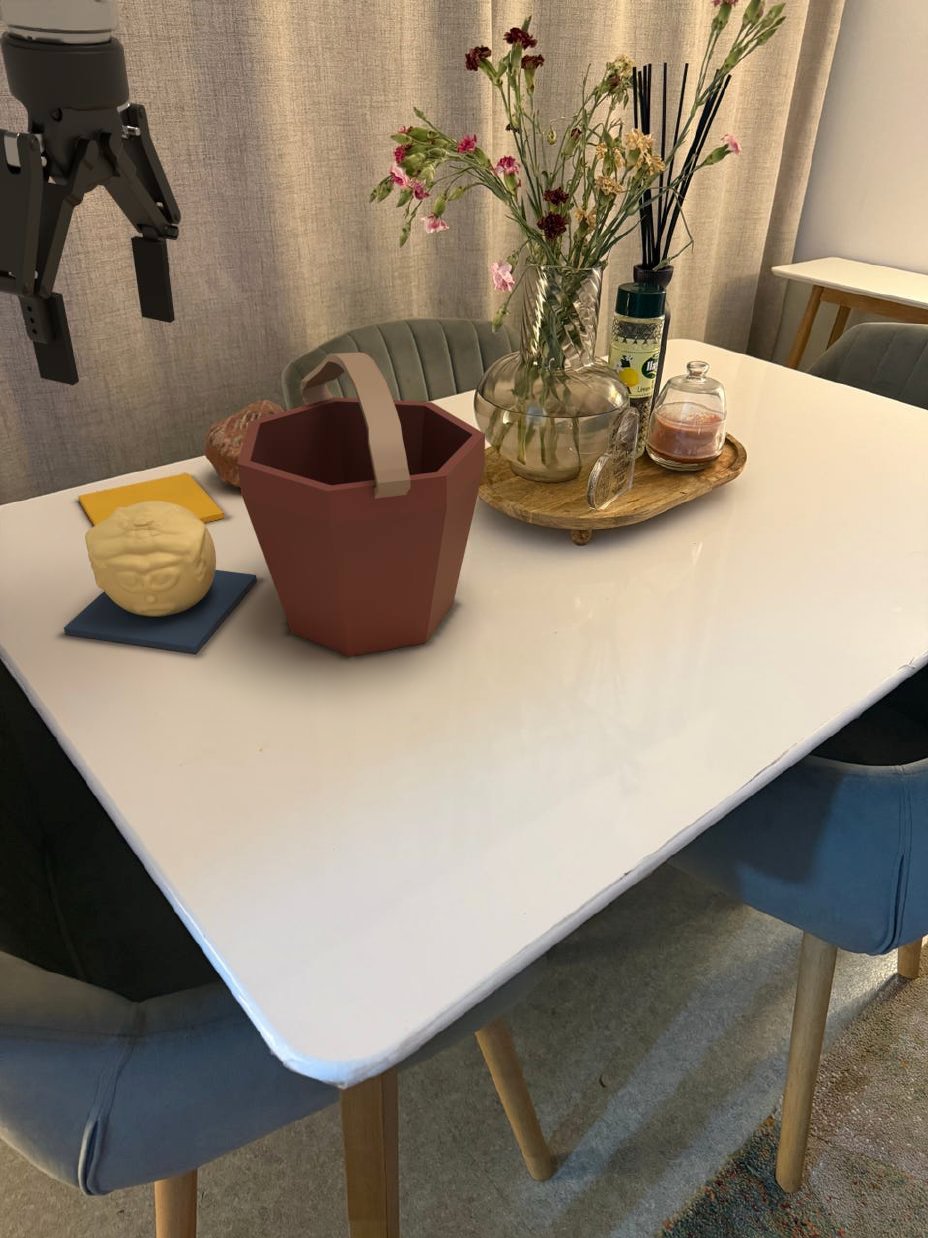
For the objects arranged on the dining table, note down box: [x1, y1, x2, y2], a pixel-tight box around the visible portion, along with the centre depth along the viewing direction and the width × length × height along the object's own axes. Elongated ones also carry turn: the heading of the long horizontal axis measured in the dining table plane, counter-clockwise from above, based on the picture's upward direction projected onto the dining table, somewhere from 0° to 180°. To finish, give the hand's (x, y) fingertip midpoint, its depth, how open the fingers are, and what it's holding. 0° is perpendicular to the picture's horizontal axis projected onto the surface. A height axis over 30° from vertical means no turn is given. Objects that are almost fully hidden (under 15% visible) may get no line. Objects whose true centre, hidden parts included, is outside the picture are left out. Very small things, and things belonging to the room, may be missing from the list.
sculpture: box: [84, 501, 217, 617], centre depth 88 cm, size 11×12×11 cm
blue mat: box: [63, 569, 258, 655], centre depth 91 cm, size 14×14×1 cm
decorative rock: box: [204, 399, 284, 488], centre depth 116 cm, size 13×11×10 cm
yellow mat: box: [77, 472, 225, 527], centre depth 110 cm, size 14×14×1 cm
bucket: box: [237, 352, 486, 657], centre depth 85 cm, size 24×22×25 cm
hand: (112, 347), depth 71 cm, fingers open, 13 cm apart
